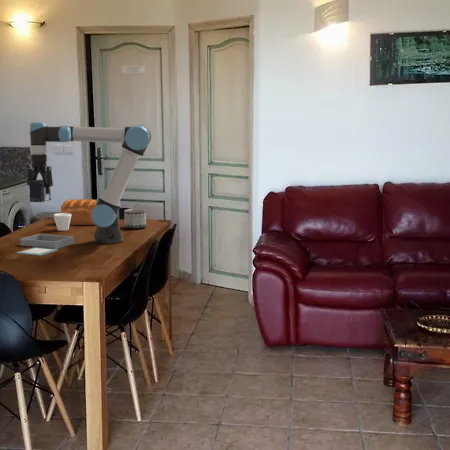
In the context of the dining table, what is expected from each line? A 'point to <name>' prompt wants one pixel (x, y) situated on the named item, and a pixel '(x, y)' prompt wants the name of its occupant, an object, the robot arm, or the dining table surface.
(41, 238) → the bin
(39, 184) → the small box
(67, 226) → the cup
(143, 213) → the planter
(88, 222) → the bread
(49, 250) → the pad
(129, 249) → the dining table surface
